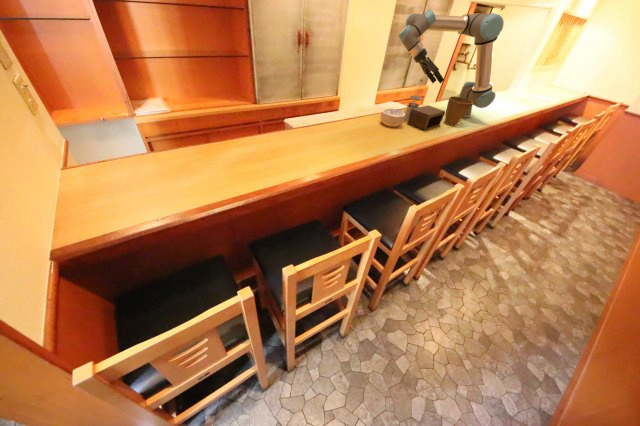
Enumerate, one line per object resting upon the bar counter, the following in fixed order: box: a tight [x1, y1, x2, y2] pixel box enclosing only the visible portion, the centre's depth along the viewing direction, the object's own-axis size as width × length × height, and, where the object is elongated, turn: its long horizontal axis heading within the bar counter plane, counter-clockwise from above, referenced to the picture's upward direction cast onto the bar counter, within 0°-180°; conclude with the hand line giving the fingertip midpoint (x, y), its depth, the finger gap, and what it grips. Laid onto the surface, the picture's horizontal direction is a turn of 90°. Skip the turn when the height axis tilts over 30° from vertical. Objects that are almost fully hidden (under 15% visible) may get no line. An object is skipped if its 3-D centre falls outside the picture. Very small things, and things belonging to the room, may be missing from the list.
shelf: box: [406, 105, 446, 132], centre depth 160 cm, size 19×13×10 cm
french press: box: [404, 79, 424, 121], centre depth 163 cm, size 10×12×25 cm
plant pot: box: [444, 95, 473, 126], centre depth 166 cm, size 15×15×16 cm
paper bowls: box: [379, 107, 405, 128], centre depth 157 cm, size 15×15×8 cm
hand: (438, 81), depth 149 cm, fingers open, 13 cm apart
